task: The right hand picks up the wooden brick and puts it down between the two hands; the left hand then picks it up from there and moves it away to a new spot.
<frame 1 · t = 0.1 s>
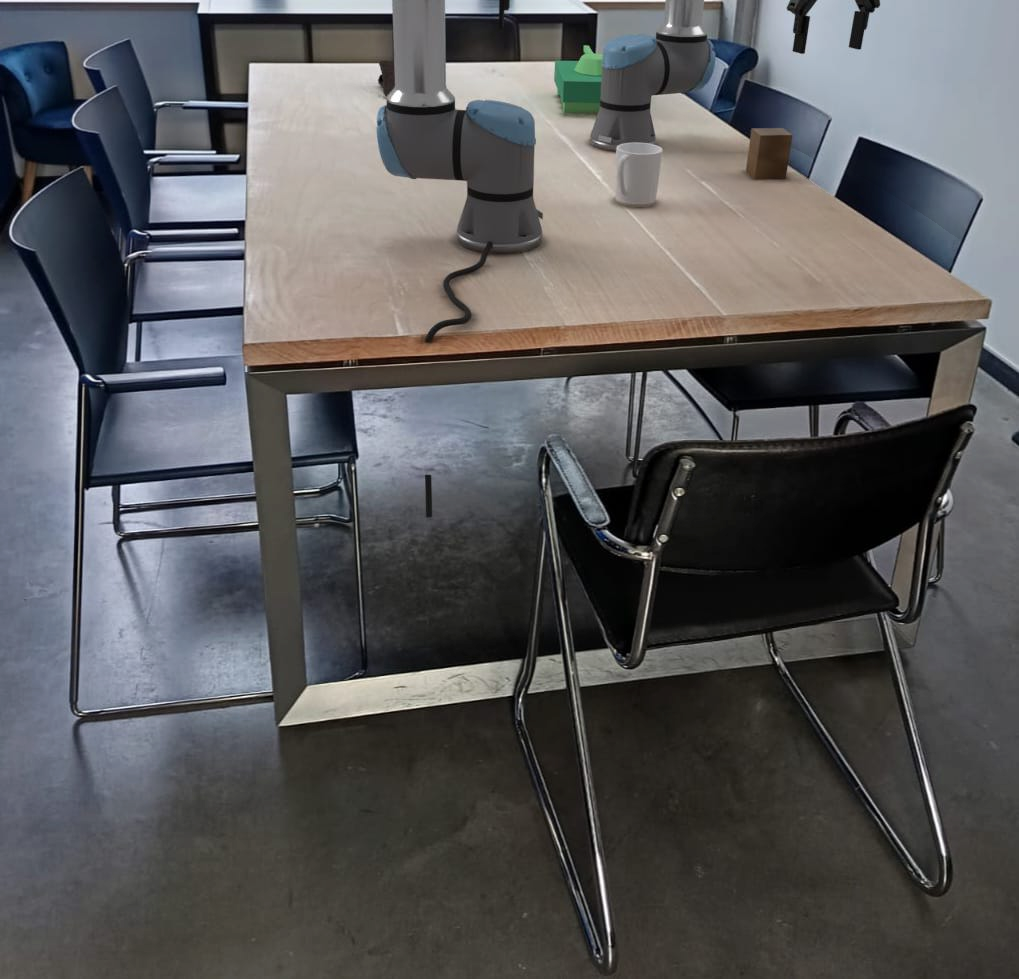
left hand: (468, 26, 224), 28 cm above the table, tool pointing down, fingers open, 13 cm apart
right hand: (826, 50, 209), 28 cm above the table, tool pointing down, fingers open, 13 cm apart
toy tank: (589, 102, 293), on the table
brick: (765, 175, 236), on the table
axe head: (403, 91, 300), on the table
mug: (632, 203, 217), on the table
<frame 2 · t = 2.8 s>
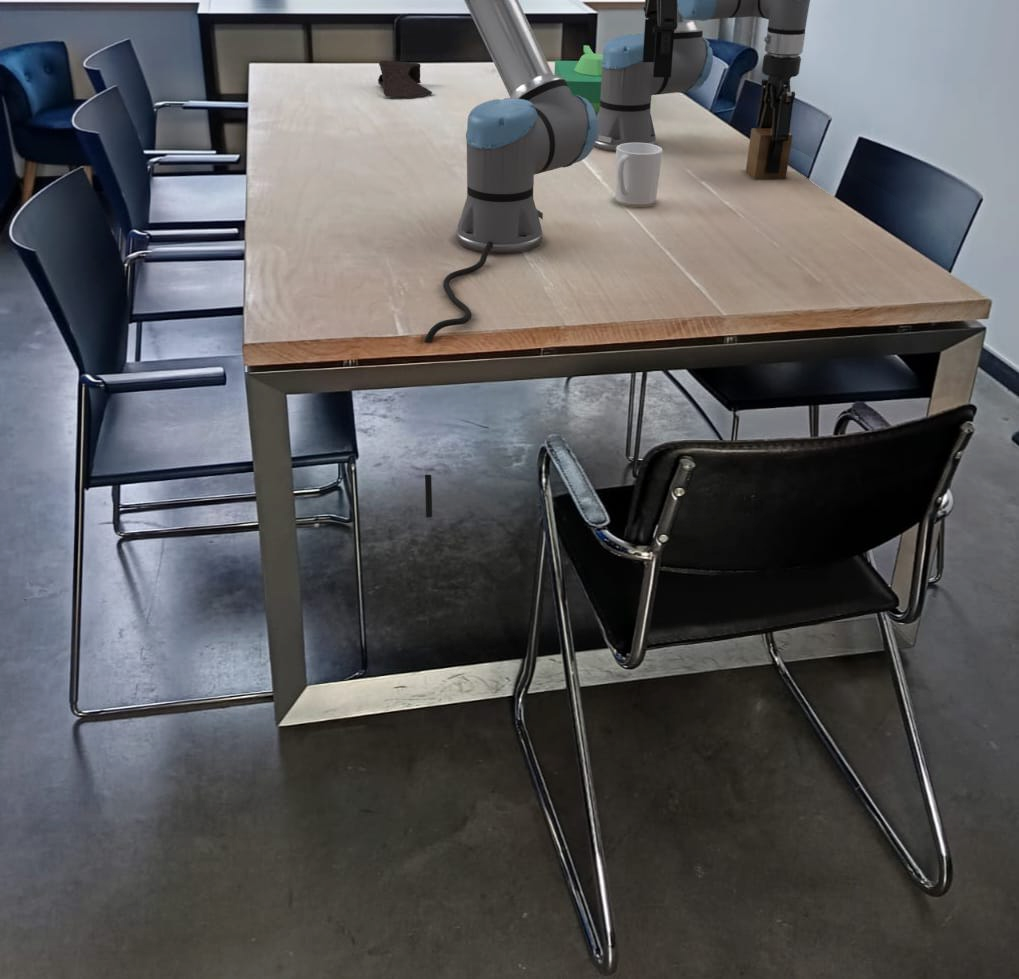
left hand: (656, 69, 176), 31 cm above the table, tool pointing down, fingers open, 13 cm apart
right hand: (766, 168, 235), 1 cm above the table, tool pointing down, fingers closed on brick, 6 cm apart
brick: (765, 174, 236), on the table, touching right hand
everything else where it was.
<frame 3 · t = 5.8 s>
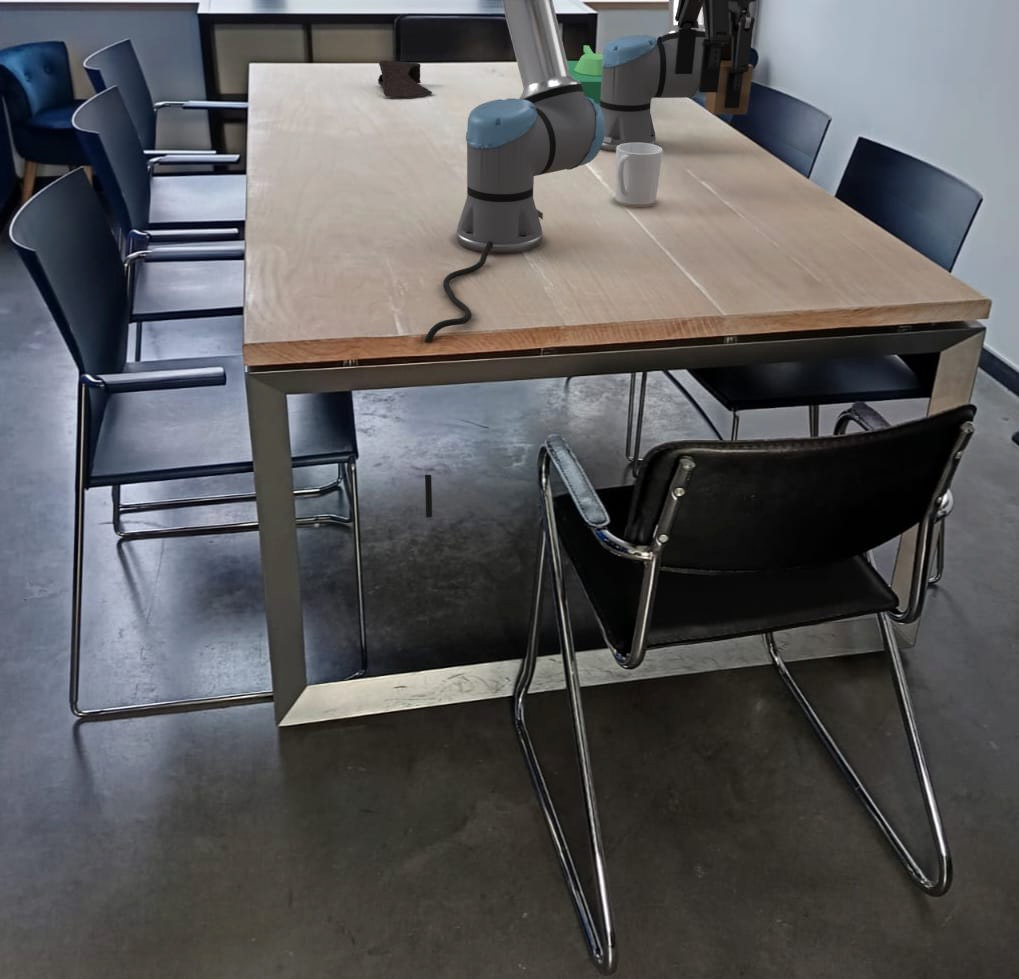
left hand: (695, 82, 168), 30 cm above the table, tool pointing down, fingers open, 13 cm apart
right hand: (726, 103, 220), 16 cm above the table, tool pointing down, fingers closed on brick, 6 cm apart
brick: (725, 111, 221), point 15 cm above the table, touching right hand
everything else where it was.
when the right hand's fingers open (3 cm above the table, at t = 8.9 s): brick drops 2 cm, on the table.
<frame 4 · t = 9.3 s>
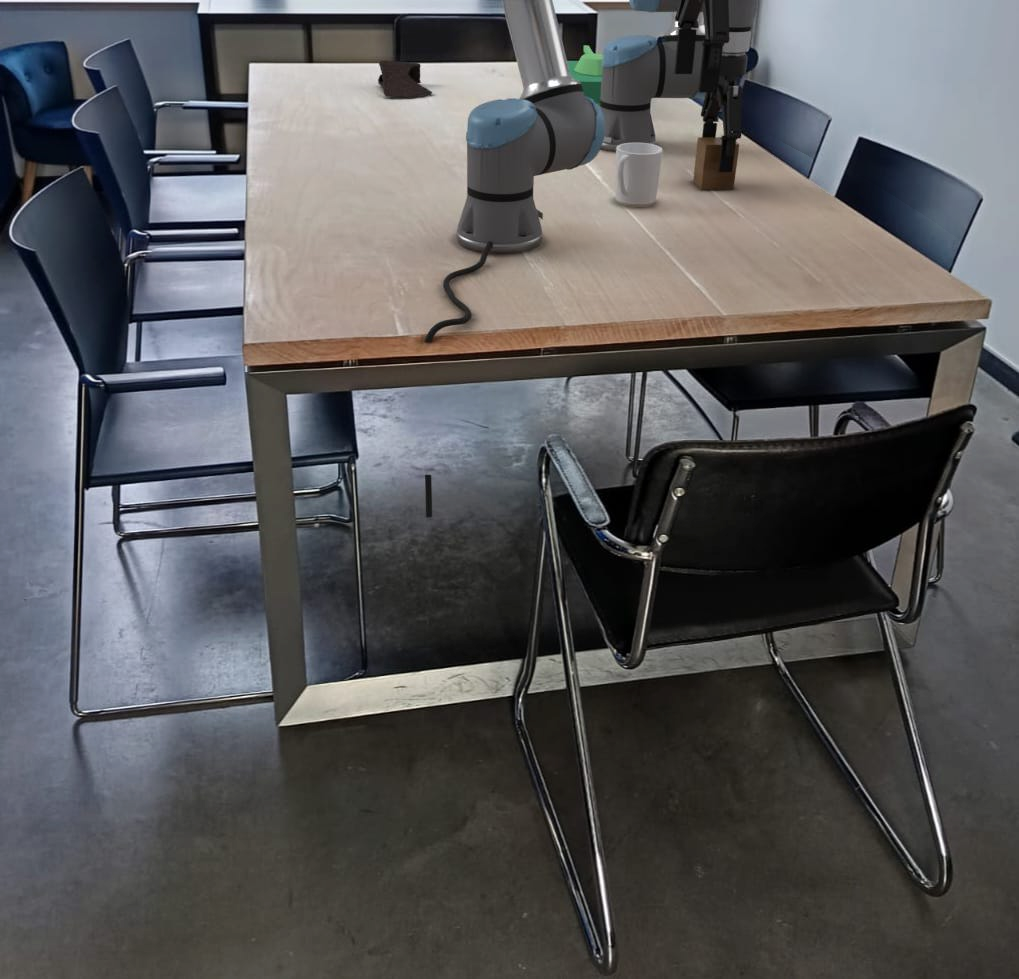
left hand: (695, 82, 168), 30 cm above the table, tool pointing down, fingers open, 13 cm apart
right hand: (715, 163, 226), 5 cm above the table, tool pointing down, fingers open, 12 cm apart
brick: (713, 185, 228), on the table
everything else where it was.
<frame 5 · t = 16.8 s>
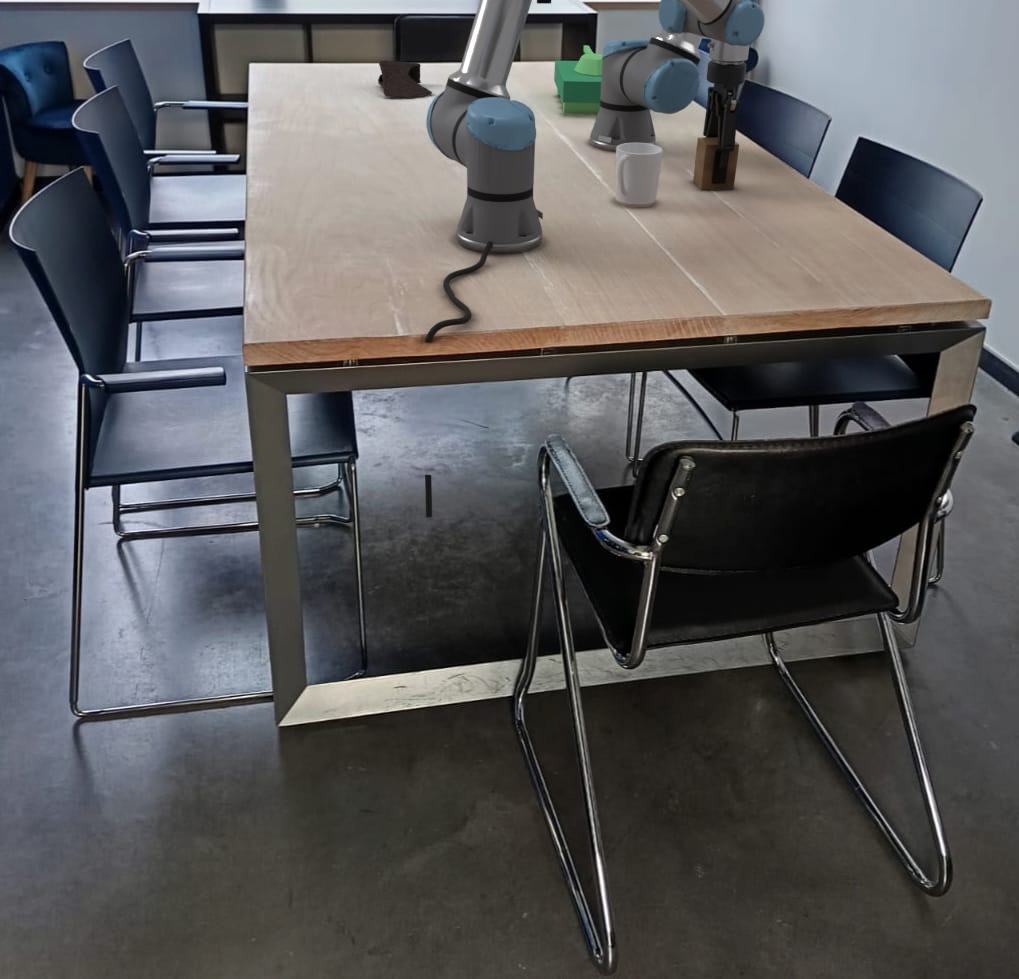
left hand: (713, 178, 228), 1 cm above the table, tool pointing down, fingers closed on brick, 6 cm apart
brick: (713, 185, 228), on the table, touching left hand
everything else where it was.
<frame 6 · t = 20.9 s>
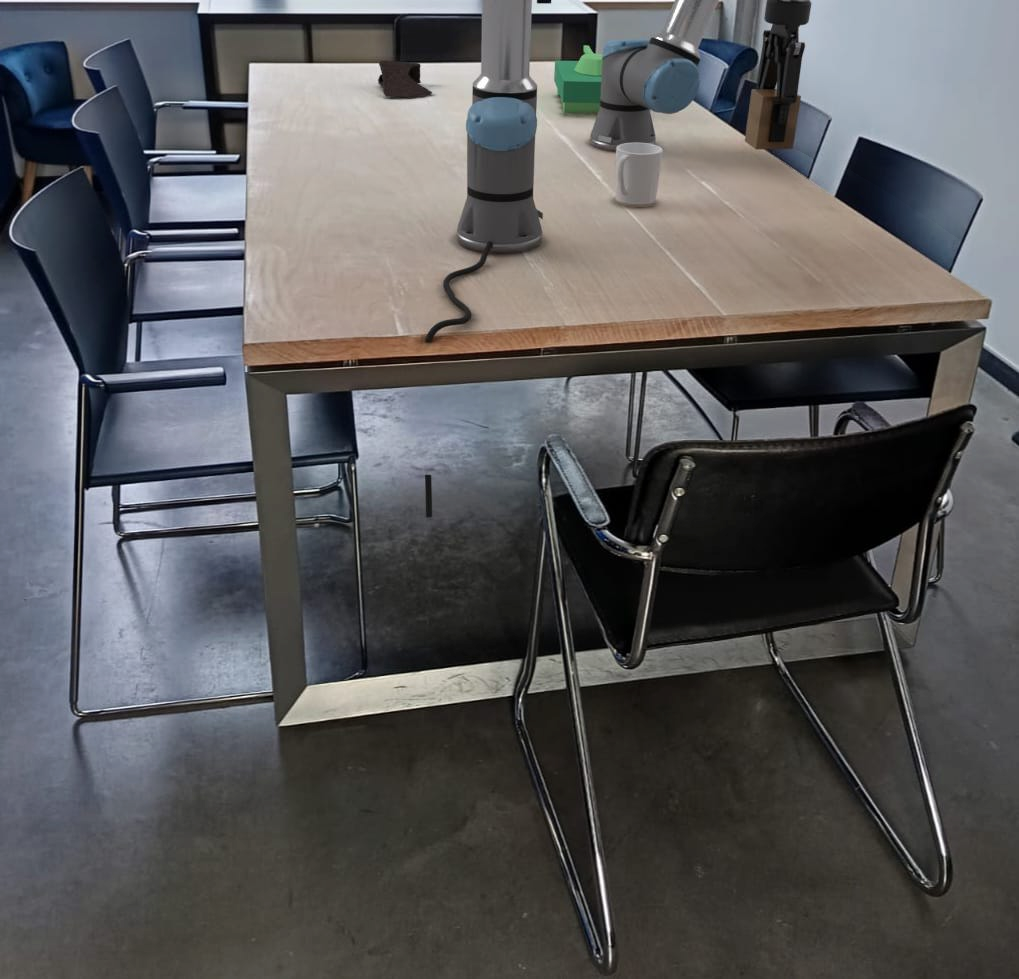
left hand: (769, 136, 198), 16 cm above the table, tool pointing down, fingers closed on brick, 6 cm apart
brick: (768, 145, 199), point 15 cm above the table, touching left hand
everything else where it was.
when the left hand's fingers open (3 cm above the table, at t = 25.5 s): brick drops 2 cm, on the table.
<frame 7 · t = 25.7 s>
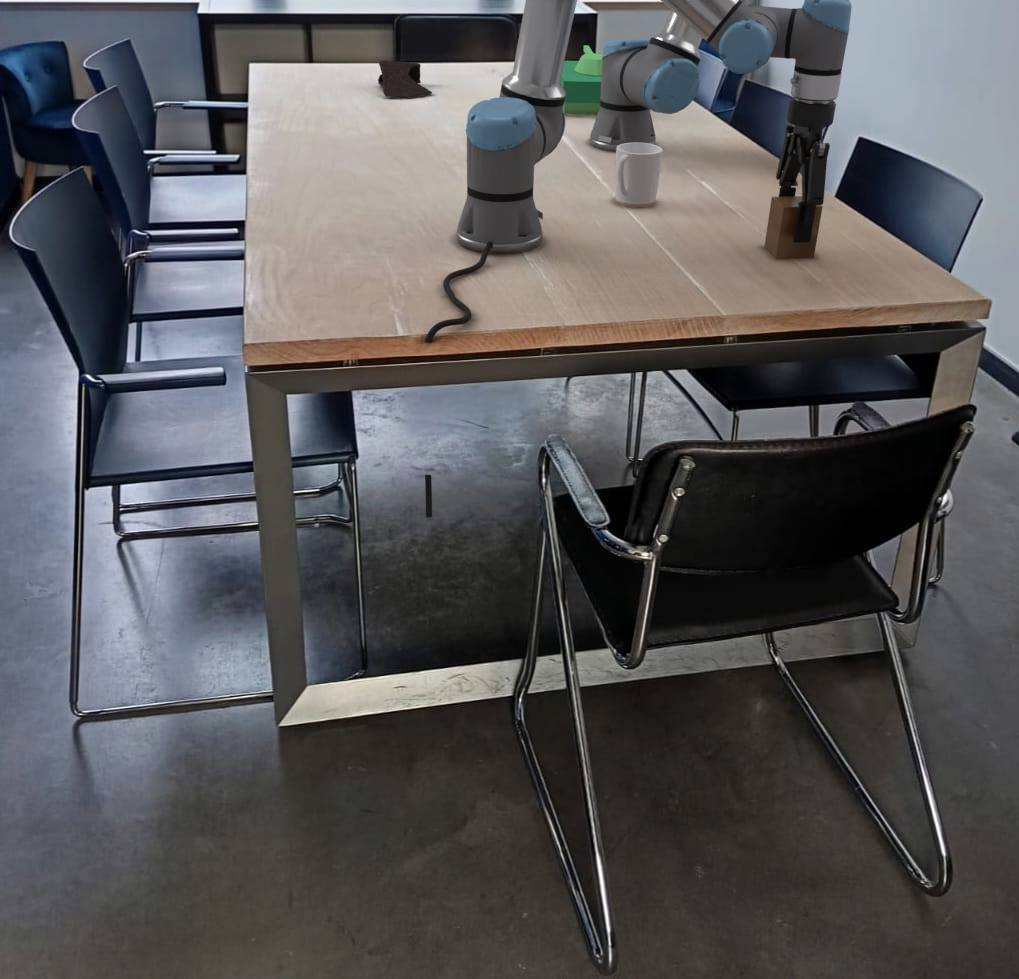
left hand: (791, 232, 192), 4 cm above the table, tool pointing down, fingers open, 9 cm apart
brick: (788, 252, 193), on the table
everything else where it was.
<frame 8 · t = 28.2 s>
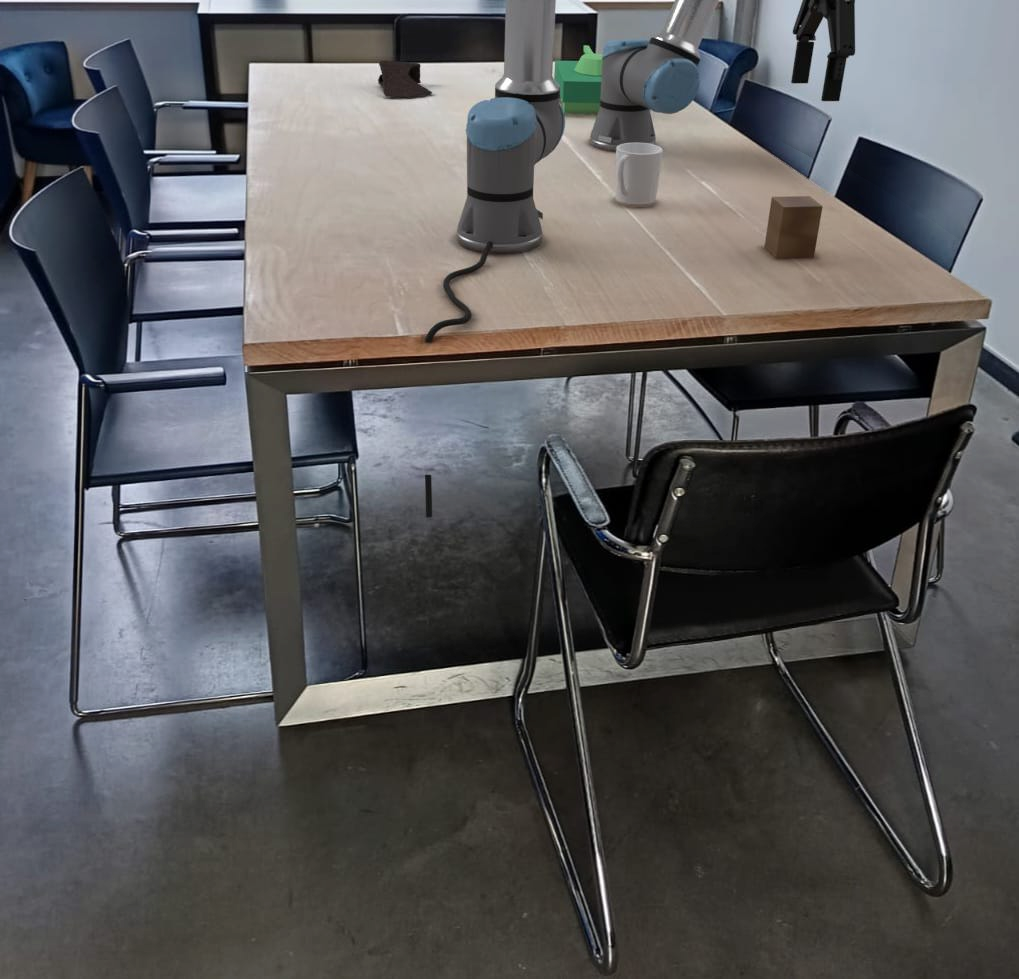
left hand: (814, 91, 179), 27 cm above the table, tool pointing down, fingers open, 13 cm apart
nothing on the table moved.
at the end: brick inside the target area (0.0 cm from its centre), on the table; brick tilted 0°; the two hands never held the brick at the same time; the left hand is holding nothing; the right hand is holding nothing; brick at rest at the end (0.0 cm/s) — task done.
